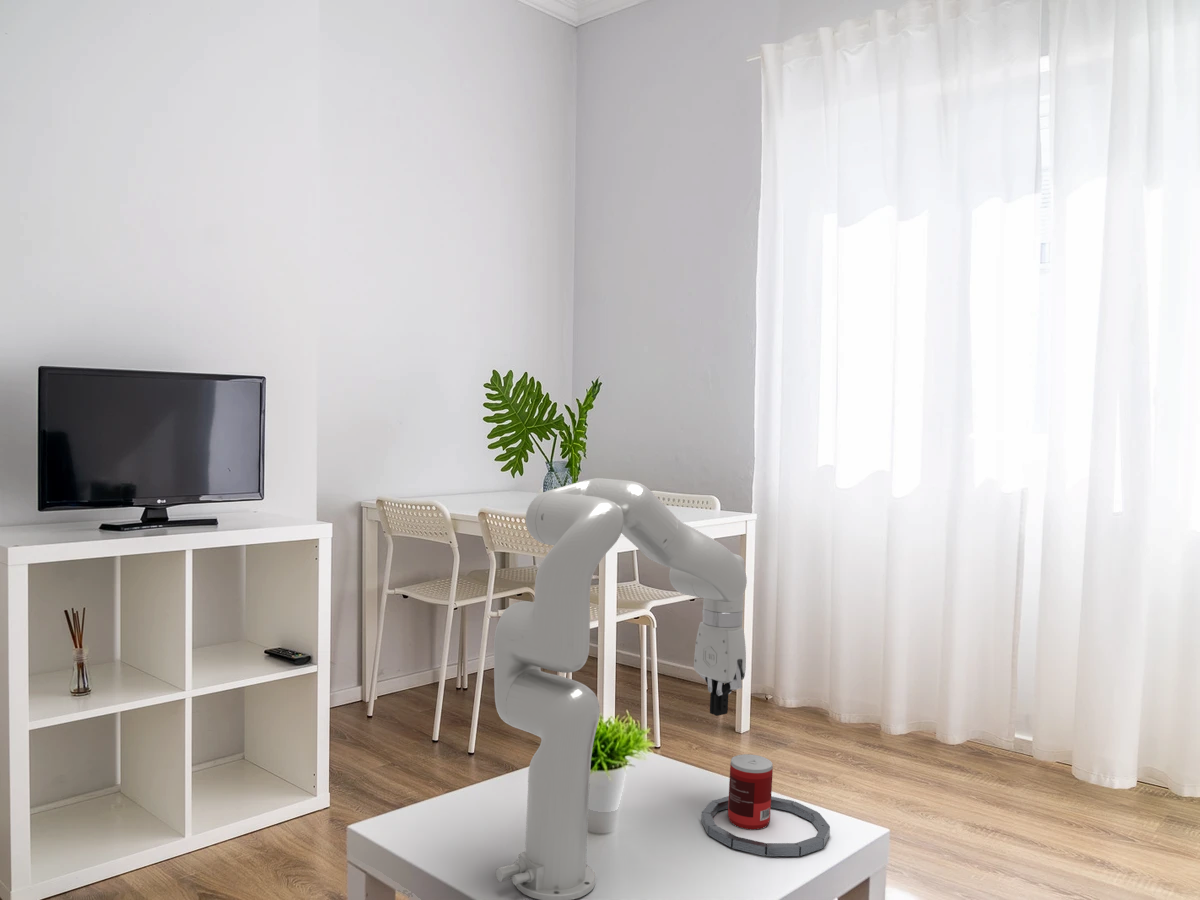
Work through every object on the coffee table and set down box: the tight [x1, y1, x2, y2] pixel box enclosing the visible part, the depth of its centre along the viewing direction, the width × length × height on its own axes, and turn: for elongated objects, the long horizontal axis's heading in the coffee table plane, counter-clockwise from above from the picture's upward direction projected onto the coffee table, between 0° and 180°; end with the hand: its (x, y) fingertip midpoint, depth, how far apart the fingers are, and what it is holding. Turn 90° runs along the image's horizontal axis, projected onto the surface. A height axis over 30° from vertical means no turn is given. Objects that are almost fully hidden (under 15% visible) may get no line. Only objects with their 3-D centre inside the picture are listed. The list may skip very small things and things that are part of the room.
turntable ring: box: [700, 795, 831, 857], centre depth 166 cm, size 22×22×3 cm
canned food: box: [727, 753, 774, 830], centre depth 169 cm, size 8×8×11 cm
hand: (718, 713), depth 177 cm, fingers closed
